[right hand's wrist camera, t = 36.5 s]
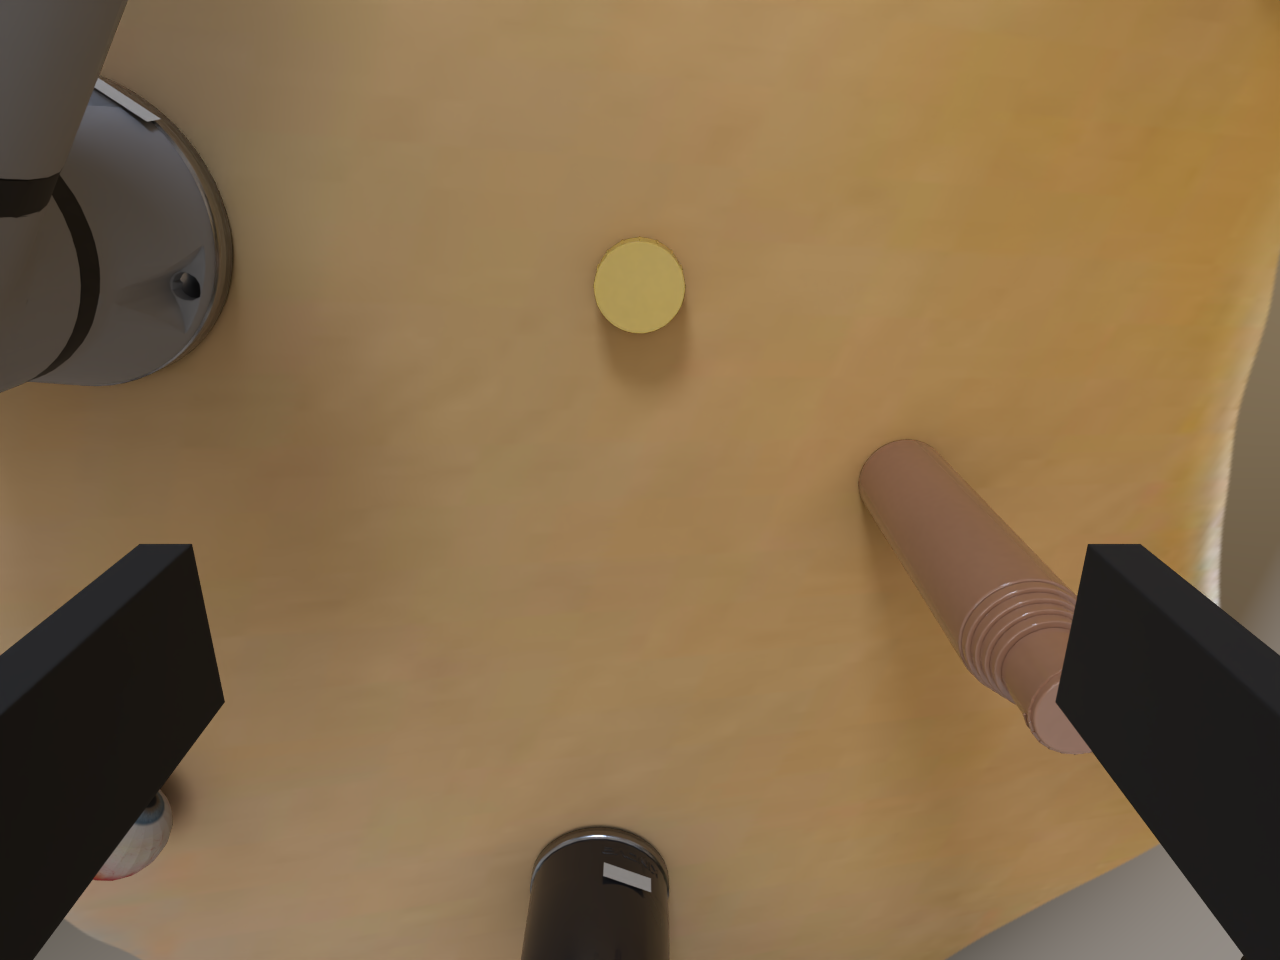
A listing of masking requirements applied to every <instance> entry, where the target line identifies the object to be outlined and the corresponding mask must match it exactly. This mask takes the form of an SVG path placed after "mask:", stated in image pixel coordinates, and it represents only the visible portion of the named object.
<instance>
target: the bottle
mask: <svg viewBox="0 0 1280 960" xmlns="http://www.w3.org/2000/svg"><path fill="white" fill-rule="evenodd" d="M859 492H860V496H861V499H862V501H863V503H864V504H865V506H866V508H867V509H868V511H869V513H870V514H871V516H872V517H873V519H874V521H875V522H876V524H877V525H878V527H879V529H880V530H881V532H882V533H883V535H884V537H885V538H886V540H887V541H888V543H889V545H890V546H891V548H892V549H893V551H894V553H895V554H896V556H897V557H898V559H899V561H900V562H901V564H902V565H903V567H904V569H905V570H906V572H907V574H908V575H909V577H910V578H911V580H912V582H913V583H914V585H915V586H916V588H917V590H918V591H919V593H920V594H921V596H922V598H923V599H924V601H925V602H926V604H927V606H928V607H929V609H930V610H931V612H932V614H933V615H934V617H935V618H936V620H937V622H938V623H939V625H940V626H941V628H942V630H943V631H944V633H945V635H946V636H947V638H948V639H949V641H950V643H951V644H952V646H953V647H954V649H955V651H956V652H957V654H958V655H959V657H960V659H961V660H962V662H963V663H964V665H965V666H966V668H967V669H968V670H969V671H970V673H971V674H972V675H974V676H975V677H976V678H977V680H978V681H979V682H981V683H982V684H983V685H985V686H986V687H988V688H990V689H991V690H993V691H994V692H996V693H998V694H999V695H1001V696H1002V697H1004V698H1006V699H1008V700H1009V701H1010V702H1012V703H1014V704H1016V705H1017V706H1018V708H1019V709H1020V711H1021V712H1022V714H1023V717H1024V720H1025V723H1026V725H1027V726H1028V727H1029V729H1030V730H1031V732H1032V734H1033V735H1034V736H1035V737H1036V739H1037V740H1038V741H1039V742H1040V743H1041V744H1043V745H1044V746H1046V747H1047V748H1049V749H1051V750H1054V751H1057V752H1060V753H1066V754H1074V755H1075V754H1083V753H1090V752H1092V751H1091V749H1090V748H1089V747H1088V745H1087V744H1086V743H1085V741H1084V740H1083V739H1082V737H1081V736H1080V735H1079V733H1078V732H1077V731H1076V729H1075V728H1074V727H1073V725H1072V724H1071V723H1070V721H1069V720H1068V718H1067V717H1066V716H1065V714H1064V713H1063V712H1062V710H1061V709H1060V708H1059V706H1058V705H1057V704H1056V702H1055V701H1056V696H1057V691H1058V687H1059V682H1060V677H1061V672H1062V667H1063V662H1064V658H1065V653H1066V648H1067V643H1068V638H1069V634H1070V629H1071V624H1072V619H1073V614H1074V609H1075V605H1076V600H1077V596H1076V595H1075V594H1074V593H1073V592H1072V591H1071V590H1070V589H1069V588H1068V587H1067V586H1066V584H1065V583H1064V582H1063V581H1062V580H1061V579H1060V578H1059V577H1058V576H1057V575H1056V574H1055V573H1054V572H1053V571H1052V570H1051V569H1050V568H1049V567H1048V566H1047V565H1046V564H1045V563H1044V562H1043V561H1042V560H1041V559H1040V558H1039V557H1038V556H1037V554H1036V553H1035V552H1034V551H1033V550H1032V549H1031V548H1030V547H1029V546H1028V545H1027V544H1026V543H1025V542H1024V541H1023V540H1022V539H1021V538H1020V537H1019V536H1018V535H1017V534H1016V533H1015V532H1014V531H1013V530H1012V529H1011V528H1010V527H1009V525H1008V524H1007V523H1006V522H1005V521H1004V520H1003V519H1002V518H1001V517H1000V516H999V515H998V514H997V513H996V512H995V511H994V510H993V509H992V508H991V507H990V506H989V505H988V504H987V503H986V502H985V501H984V500H983V499H982V498H981V496H980V495H979V494H978V493H977V492H976V491H975V490H974V489H973V488H972V487H971V486H970V485H969V484H968V483H967V482H966V481H965V480H964V479H963V478H962V477H961V476H960V475H959V474H958V473H957V472H956V471H955V470H954V469H953V468H952V466H951V465H950V464H949V463H948V462H947V461H946V460H945V459H944V458H943V457H942V456H941V455H940V454H939V453H938V452H937V451H936V450H935V449H934V448H932V447H931V446H929V445H928V444H925V443H923V442H920V441H916V440H899V441H895V442H892V443H889V444H887V445H885V446H883V447H881V448H879V449H878V450H877V451H876V452H874V453H873V454H872V455H871V456H870V457H869V459H868V460H867V461H866V463H865V465H864V466H863V468H862V471H861V474H860V477H859Z"/></svg>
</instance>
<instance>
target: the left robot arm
mask: <svg viewBox="0 0 1280 960" xmlns="http://www.w3.org/2000/svg"><path fill="white" fill-rule="evenodd" d="M530 892H531V896H530V903H529V909H528V916H527V922H526V928H525V935H524V942H523V949H522V956H521V960H670V952H669V920H668V896H669V879H668V872H667V868H666V865H665V863H664V861H663V859H662V858H661V856H660V855H659V853H658V852H657V851H656V850H655V849H654V848H653V847H652V846H651V845H650V844H648V843H647V842H646V841H644V840H643V839H641V838H639V837H637V836H635V835H633V834H631V833H628V832H625V831H622V830H618V829H612V828H586V829H581V830H576V831H573V832H570V833H568V834H565V835H563V836H561V837H559V838H557V839H556V840H554V841H553V842H552V843H550V844H549V845H548V846H547V847H546V848H545V849H544V850H543V851H542V852H541V854H540V855H539V857H538V858H537V860H536V862H535V865H534V868H533V872H532V878H531V886H530ZM1241 960H1247V959H1246V958H1245V956H1243V957H1242V958H1241Z"/></svg>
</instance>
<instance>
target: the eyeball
mask: <svg viewBox="0 0 1280 960" xmlns="http://www.w3.org/2000/svg"><path fill="white" fill-rule="evenodd" d="M172 825H173V824H172V809H171V806H170V803H169V801H168V799H167V797H166V796H165V795H164V793H163V792H162V791H161V790H159V791H158V792H157V794H156V795H155V796H154V798H153V799H152V800H151V802H150V803H149V804H148V806H147V807H146V809H145V810H144V811H143V813H142V814H141V815H140V817H139V818H138V819H137V821H136V822H135V823H134V825H133V826H132V827H131V829H130V830H129V831H128V833H127V834H126V835H125V837H124V838H123V839H122V841H121V842H120V843H119V845H118V846H117V847H116V849H115V850H114V852H113V853H112V854H111V856H110V857H109V858H108V860H107V861H106V862H105V864H104V865H103V866H102V868H101V869H100V870H99V872H98V873H97V874H96V876H95V877H94V878H93V879H94V880H106V881H113V880H117V879H121V878H124V877H128V876H131V875H133V874H135V873H137V872H139V871H140V870H142V869H143V868H145V867H146V866H148V865H149V864H150V863H151V862H153V861H154V860H155V858H156V857H157V856H158V855H159V853H160V852H161V851H162V849H163V848H164V847H165V845H166V843H167V841H168V838H169V835H170V832H171V828H172Z"/></svg>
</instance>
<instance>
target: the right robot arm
mask: <svg viewBox="0 0 1280 960" xmlns="http://www.w3.org/2000/svg"><path fill="white" fill-rule="evenodd" d="M127 1H128V0H0V393H1V392H3V391H6V390H8V389H11V388H13V387H16V386H18V385H21V384H23V383H25V382H41V383H54V384H69V385H81V386H105V385H115V384H121V383H126V382H129V381H133V380H137V379H139V378H142V377H144V376H147V375H149V374H152V373H154V372H156V371H158V370H160V369H162V368H164V367H167V366H169V365H170V364H172V363H174V362H176V361H178V360H179V359H181V358H182V357H184V356H185V355H187V354H188V353H189V352H191V351H192V350H193V349H194V348H195V347H196V346H197V345H198V344H199V343H200V342H201V341H202V340H203V339H204V338H205V337H206V335H207V334H208V333H209V331H210V330H211V329H212V327H213V326H214V324H215V322H216V321H217V319H218V317H219V315H220V313H221V311H222V308H223V306H224V303H225V301H226V297H227V294H228V290H229V286H230V280H231V274H232V259H233V258H232V240H231V233H230V227H229V222H228V218H227V214H226V210H225V207H224V204H223V201H222V198H221V196H220V193H219V191H218V189H217V186H216V184H215V182H214V180H213V178H212V176H211V174H210V172H209V170H208V168H207V167H206V165H205V163H204V162H203V160H202V159H201V157H200V156H199V154H198V153H197V151H196V150H195V149H194V147H193V146H192V145H191V143H190V142H189V141H188V139H187V138H186V137H185V136H184V135H183V134H182V133H181V131H180V130H179V129H178V128H177V127H176V126H175V125H174V124H173V123H172V122H171V121H170V120H169V119H168V118H167V117H166V116H165V115H164V114H163V113H161V112H160V111H159V110H158V109H156V108H155V107H154V106H153V105H151V104H150V103H149V102H147V101H146V100H144V99H143V98H142V97H140V96H139V95H137V94H136V93H134V92H132V91H131V90H129V89H127V88H125V87H123V86H122V85H120V84H118V83H116V82H113V81H111V80H109V79H107V78H104V77H102V76H99V74H100V71H101V69H102V66H103V63H104V61H105V58H106V56H107V53H108V50H109V48H110V45H111V43H112V40H113V37H114V35H115V32H116V30H117V27H118V24H119V22H120V19H121V17H122V14H123V11H124V9H125V6H126V4H127ZM224 702H225V701H224V696H223V691H222V687H221V682H220V677H219V672H218V667H217V662H216V658H215V653H214V648H213V643H212V638H211V634H210V629H209V624H208V619H207V614H206V609H205V605H204V600H203V595H202V590H201V585H200V581H199V576H198V571H197V566H196V561H195V556H194V552H193V547H192V544H139V545H138V546H137V547H135V548H134V549H133V550H132V551H130V552H129V553H128V554H127V555H125V556H124V557H123V558H122V559H120V560H119V561H118V562H117V563H115V564H114V565H113V566H112V567H110V568H109V569H108V570H107V571H105V572H104V573H103V574H102V575H100V576H99V577H98V578H97V579H95V580H94V581H93V582H92V583H90V584H89V585H88V586H87V587H85V588H84V589H83V590H82V591H80V592H79V593H78V594H77V595H75V596H74V597H73V598H72V599H70V600H69V601H68V602H67V603H65V604H64V605H63V606H62V607H60V608H59V609H58V610H57V611H55V612H54V613H53V614H52V615H50V616H49V617H48V618H47V619H45V620H44V621H43V622H42V623H40V624H39V625H38V626H37V627H35V628H34V629H33V630H32V631H30V632H29V633H28V634H27V635H25V636H24V637H23V638H22V639H20V640H19V641H18V642H17V643H15V644H14V645H13V646H12V647H10V648H9V649H8V650H7V651H5V652H4V653H3V654H2V655H0V960H33V959H34V958H35V956H36V955H37V954H38V952H39V951H40V950H41V948H42V947H43V946H44V944H45V943H46V942H47V940H48V939H49V938H50V936H51V935H52V934H53V932H54V931H55V929H56V928H57V927H58V925H59V924H60V923H61V921H62V920H63V919H64V917H65V916H66V915H67V913H68V912H69V911H70V909H71V908H72V907H73V905H74V904H75V903H76V901H77V900H78V899H79V897H80V896H81V895H82V893H83V892H84V890H85V889H86V888H87V886H88V885H89V884H90V882H91V881H92V880H93V878H94V877H95V876H96V874H97V873H98V872H99V870H100V869H101V868H102V866H103V865H104V864H105V862H106V861H107V860H108V858H109V857H110V856H111V854H112V853H113V852H114V850H115V849H116V847H117V846H118V845H119V843H120V842H121V841H122V839H123V838H124V837H125V835H126V834H127V833H128V831H129V830H130V829H131V827H132V826H133V825H134V823H135V822H136V821H137V819H138V818H139V817H140V815H141V814H142V813H143V811H144V810H145V809H146V807H147V806H148V804H149V803H150V802H151V800H152V799H153V798H154V796H155V795H156V794H157V792H158V791H159V790H160V788H161V787H162V786H163V784H164V783H165V782H166V780H167V779H168V778H169V776H170V775H171V774H172V772H173V771H174V770H175V768H176V767H177V766H178V764H179V763H180V761H181V760H182V759H183V757H184V756H185V755H186V753H187V752H188V751H189V749H190V748H191V747H192V745H193V744H194V743H195V741H196V740H197V739H198V737H199V736H200V735H201V733H202V732H203V731H204V729H205V728H206V727H207V725H208V724H209V723H210V721H211V720H212V718H213V717H214V716H215V714H216V713H217V712H218V710H219V709H220V708H221V706H222V705H223V704H224ZM1055 702H1056V704H1057V705H1058V706H1059V708H1060V709H1061V710H1062V712H1063V713H1064V714H1065V716H1066V717H1067V718H1068V720H1069V721H1070V723H1071V724H1072V725H1073V727H1074V728H1075V729H1076V731H1077V732H1078V733H1079V735H1080V736H1081V737H1082V739H1083V740H1084V741H1085V743H1086V744H1087V745H1088V747H1089V748H1090V749H1091V751H1092V752H1093V753H1094V755H1095V756H1096V757H1097V759H1098V760H1099V761H1100V763H1101V764H1102V766H1103V767H1104V768H1105V770H1106V771H1107V772H1108V774H1109V775H1110V776H1111V778H1112V779H1113V780H1114V782H1115V783H1116V784H1117V786H1118V787H1119V788H1120V790H1121V791H1122V792H1123V794H1124V795H1125V796H1126V798H1127V799H1128V800H1129V802H1130V803H1131V804H1132V806H1133V807H1134V809H1135V810H1136V811H1137V813H1138V814H1139V815H1140V817H1141V818H1142V819H1143V821H1144V822H1145V823H1146V825H1147V826H1148V827H1149V829H1150V830H1151V831H1152V833H1153V834H1154V835H1155V837H1156V838H1157V839H1158V841H1159V842H1160V843H1161V845H1162V846H1163V847H1164V849H1165V850H1166V852H1167V853H1168V854H1169V856H1170V857H1171V858H1172V860H1173V861H1174V862H1175V864H1176V865H1177V866H1178V868H1179V869H1180V870H1181V872H1182V873H1183V874H1184V876H1185V877H1186V878H1187V880H1188V881H1189V882H1190V884H1191V885H1192V886H1193V888H1194V889H1195V890H1196V892H1197V893H1198V895H1199V896H1200V897H1201V899H1202V900H1203V901H1204V903H1205V904H1206V905H1207V907H1208V908H1209V909H1210V911H1211V912H1212V913H1213V915H1214V916H1215V917H1216V919H1217V920H1218V921H1219V923H1220V924H1221V925H1222V927H1223V928H1224V929H1225V931H1226V932H1227V933H1228V935H1229V936H1230V938H1231V939H1232V940H1233V942H1234V943H1235V944H1236V946H1237V947H1238V948H1239V950H1240V951H1241V952H1242V954H1243V955H1244V956H1245V958H1246V959H1247V960H1280V655H1278V654H1277V653H1276V652H1275V651H1273V650H1272V649H1271V648H1270V647H1268V646H1267V645H1266V644H1265V643H1263V642H1262V641H1261V640H1260V639H1258V638H1257V637H1256V636H1255V635H1253V634H1252V633H1251V632H1250V631H1248V630H1247V629H1246V628H1245V627H1243V626H1242V625H1241V624H1239V623H1238V622H1237V621H1236V620H1235V619H1233V618H1232V617H1231V616H1229V615H1228V614H1227V613H1226V612H1225V611H1223V610H1222V609H1221V608H1220V607H1218V606H1217V605H1216V604H1215V603H1213V602H1212V601H1211V600H1210V599H1208V598H1207V597H1206V596H1205V595H1203V594H1202V593H1201V592H1200V591H1198V590H1197V589H1196V588H1195V587H1193V586H1192V585H1191V584H1190V583H1188V582H1187V581H1186V580H1185V579H1183V578H1182V577H1181V576H1180V575H1178V574H1177V573H1176V572H1175V571H1173V570H1172V569H1171V568H1170V567H1168V566H1167V565H1166V564H1165V563H1163V562H1162V561H1161V560H1160V559H1158V558H1157V557H1156V556H1155V555H1153V554H1152V553H1151V552H1150V551H1148V550H1147V549H1146V548H1145V547H1143V546H1142V545H1141V544H1088V547H1087V552H1086V556H1085V561H1084V566H1083V571H1082V576H1081V580H1080V585H1079V590H1078V595H1077V600H1076V605H1075V609H1074V614H1073V619H1072V624H1071V629H1070V634H1069V638H1068V643H1067V648H1066V653H1065V658H1064V662H1063V667H1062V672H1061V677H1060V682H1059V687H1058V691H1057V696H1056V701H1055Z"/></svg>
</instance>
